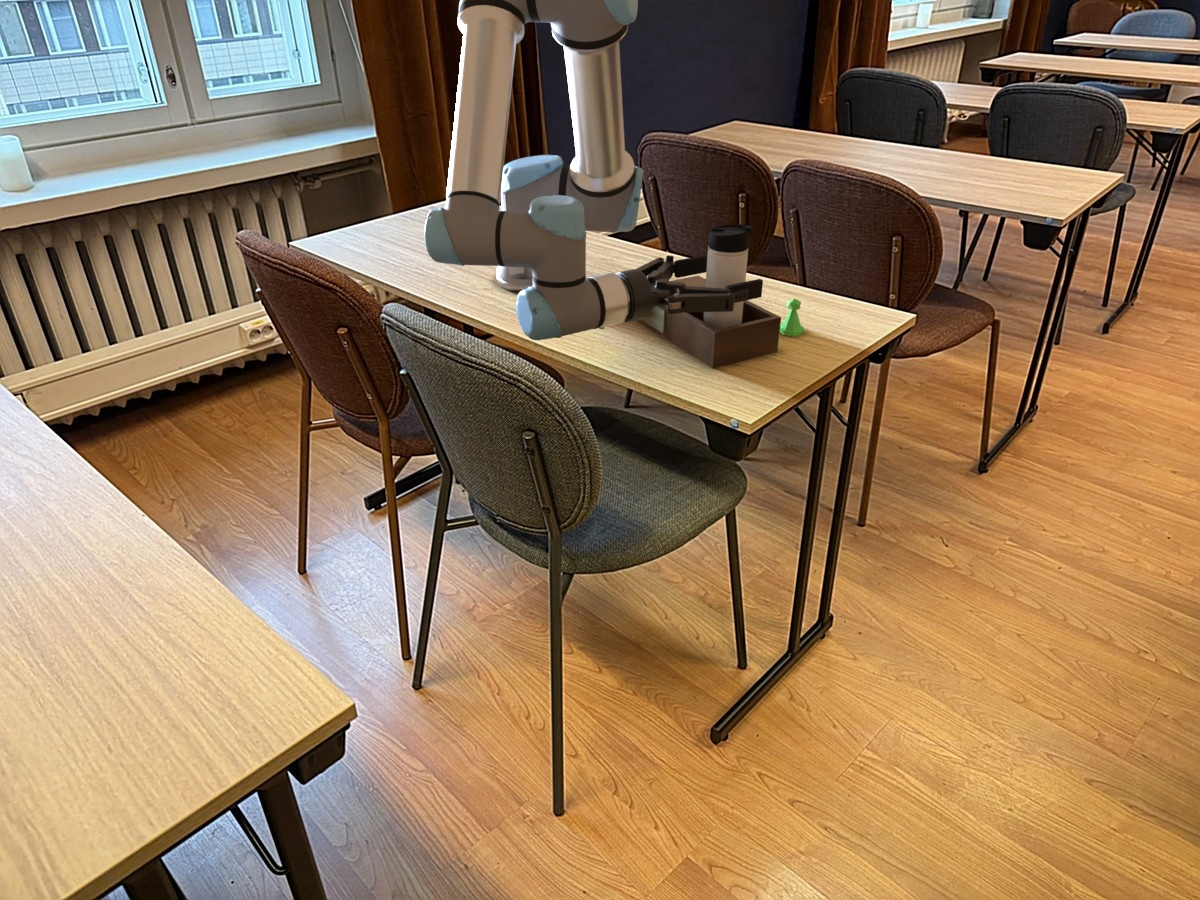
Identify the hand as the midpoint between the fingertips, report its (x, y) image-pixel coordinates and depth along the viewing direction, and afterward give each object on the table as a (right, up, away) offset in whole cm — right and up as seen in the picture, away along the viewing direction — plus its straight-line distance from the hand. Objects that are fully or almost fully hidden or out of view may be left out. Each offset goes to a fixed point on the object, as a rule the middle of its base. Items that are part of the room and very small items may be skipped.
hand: (734, 275), depth 135 cm
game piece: (+12, -8, +11) cm, 18 cm away
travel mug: (-1, -11, +6) cm, 12 cm away
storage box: (-3, -9, +9) cm, 13 cm away
